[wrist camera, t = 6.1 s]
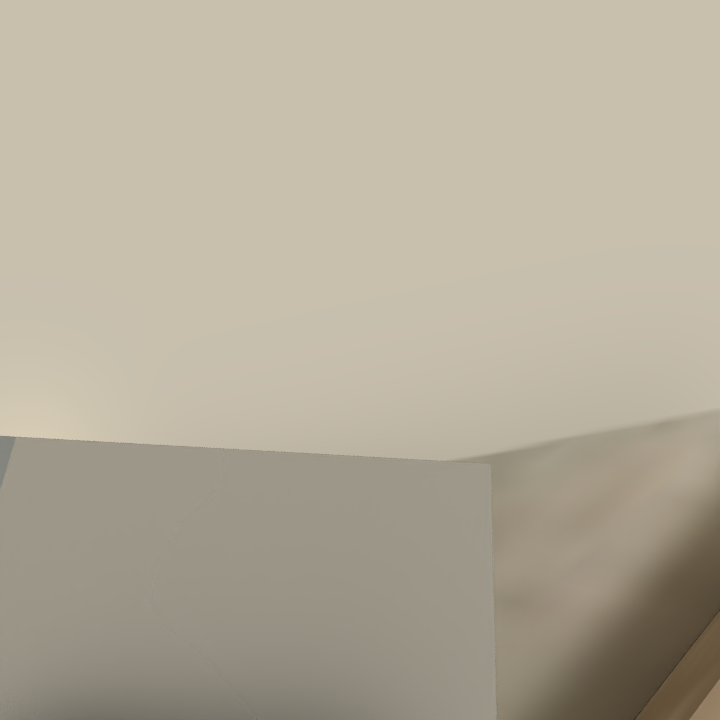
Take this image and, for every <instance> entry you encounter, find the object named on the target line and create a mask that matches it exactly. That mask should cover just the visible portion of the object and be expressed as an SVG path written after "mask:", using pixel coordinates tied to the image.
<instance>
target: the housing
mask: <svg viewBox="0 0 720 720" xmlns="http://www.w3.org/2000/svg"><path fill="white" fill-rule="evenodd" d="M0 720H497V703H496V660H495V618H494V576H493V533H492V491H491V464H485V463H467V462H449V461H431V460H414V459H396V458H379V457H362V456H360V457H359V456H344V455H326V454H309V453H290V452H273V451H256V450H239V449H221V448H203V447H185V446H168V445H150V444H133V443H115V442H98V441H80V440H63V439H45V438H27V437H10V436H0Z"/></svg>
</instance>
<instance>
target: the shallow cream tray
mask: <svg viewBox="0 0 720 720" xmlns="http://www.w3.org/2000/svg"><path fill="white" fill-rule="evenodd" d="M635 720H720V610H719V612H718V613H717V614H716V616H715V617H714V618H713V619H712V621H711V622H710V623H709V625H708V626H707V627H706V629H705V630H704V631H703V632H702V634H701V635H700V636H699V638H698V639H697V640H696V641H695V643H694V644H693V645H692V647H691V648H690V649H689V650H688V652H687V653H686V654H685V656H684V657H683V658H682V659H681V661H680V662H679V663H678V665H677V666H676V667H675V669H674V670H673V671H672V672H671V674H670V675H669V676H668V678H667V679H666V680H665V681H664V683H663V684H662V685H661V687H660V688H659V689H658V690H657V692H656V693H655V694H654V696H653V697H652V698H651V699H650V701H649V702H648V703H647V705H646V706H645V707H644V709H643V710H642V711H641V712H640V714H639V715H638V716H637V718H636V719H635Z"/></svg>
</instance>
